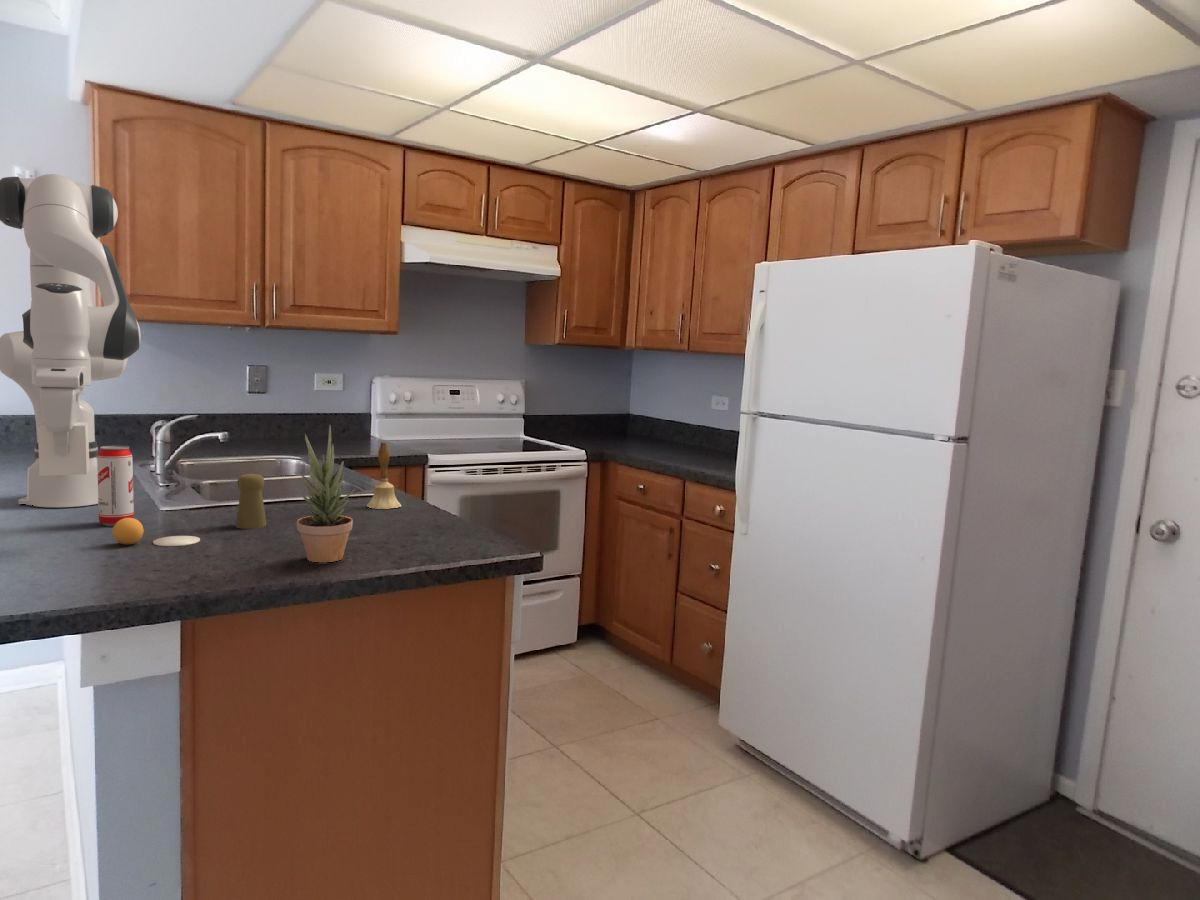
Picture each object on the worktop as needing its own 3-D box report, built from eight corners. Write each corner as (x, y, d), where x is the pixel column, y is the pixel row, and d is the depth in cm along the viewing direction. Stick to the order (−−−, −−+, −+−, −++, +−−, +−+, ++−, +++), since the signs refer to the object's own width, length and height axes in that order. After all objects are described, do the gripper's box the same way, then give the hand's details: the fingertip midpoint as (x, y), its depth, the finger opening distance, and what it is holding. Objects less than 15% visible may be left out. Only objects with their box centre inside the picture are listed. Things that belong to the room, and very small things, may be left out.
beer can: (129, 519, 172) (127, 444, 170) (137, 524, 167) (136, 448, 165) (95, 522, 167) (93, 446, 165) (103, 528, 163) (101, 449, 161)
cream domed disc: (153, 538, 156) (153, 537, 156) (199, 535, 160) (199, 534, 160) (152, 547, 149) (152, 546, 149) (200, 544, 153) (200, 543, 153)
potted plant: (298, 567, 140) (298, 426, 137) (295, 554, 149) (295, 421, 146) (358, 564, 144) (359, 426, 141) (351, 551, 153) (352, 421, 150)
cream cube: (44, 470, 148) (42, 422, 147) (89, 469, 151) (88, 422, 150) (39, 475, 141) (37, 425, 140) (86, 474, 145) (85, 425, 144)
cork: (257, 521, 175) (257, 471, 174) (272, 526, 171) (272, 474, 170) (230, 525, 170) (229, 473, 169) (244, 530, 167) (244, 477, 165)
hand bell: (382, 511, 192) (383, 444, 190) (359, 506, 196) (359, 441, 195) (408, 507, 199) (409, 442, 197) (385, 502, 203) (386, 439, 202)
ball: (113, 542, 152) (113, 516, 151) (144, 540, 154) (143, 514, 154) (111, 548, 148) (111, 521, 147) (143, 546, 150) (142, 520, 149)
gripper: (47, 373, 152) (50, 446, 153) (33, 377, 134) (36, 459, 136) (87, 373, 155) (89, 445, 156) (78, 377, 137) (80, 458, 139)
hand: (64, 452), depth 146 cm, fingers closed on cream cube, 7 cm apart
